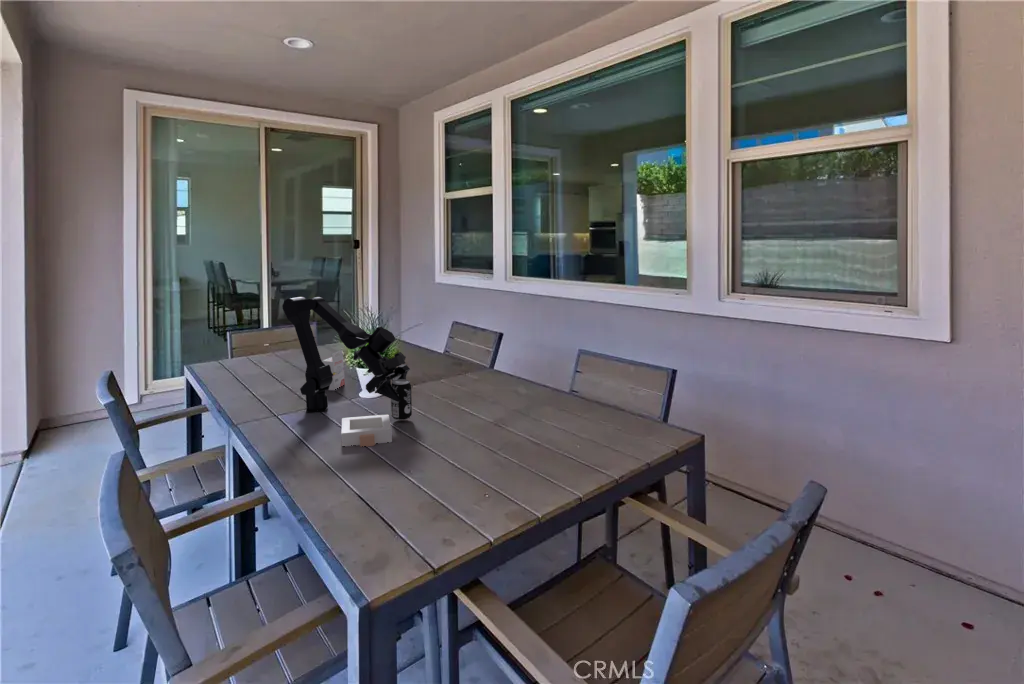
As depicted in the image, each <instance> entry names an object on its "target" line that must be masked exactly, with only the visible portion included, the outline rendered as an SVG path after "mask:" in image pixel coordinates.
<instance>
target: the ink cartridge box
mask: <svg viewBox="0 0 1024 684" xmlns="http://www.w3.org/2000/svg"><path fill="white" fill-rule="evenodd" d="M321 361H322V362H323V363H324V364H325V365H330V368H331V372H332V374H333V376H332V378H333V381H332V383H331V384H330V387H329V390H328V391H336V390H338V389H340V388H341V386H342V387H344V386H345V385H346V384H345V383H346V382H345V365H344V354H343V350H342V349H340V350H338V351H334V352H333V353H331V357H328V358H326V359H322V360H321ZM343 385H344V386H343ZM339 387H340V388H339ZM337 388H338V389H337ZM335 389H336V390H335Z"/></svg>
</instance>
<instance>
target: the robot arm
mask: <svg viewBox="0 0 1024 684" xmlns="http://www.w3.org/2000/svg"><path fill="white" fill-rule="evenodd" d="M281 306H282V310H283V312H284V316H285V317H286V319H287V320H288V321H289V322H290V323H291V324H292V325H293V326H294V329H295V333H296V335H297V339H298V343H299V344H300V348H301V351H302V354H303V358H304V361H305V365H306V367H305V368H306V369H305V381H306V382H304V384H303V385H302V386H301V387H300V389H299V390H300V393H301V395H303V396H305V405H306V409H305V412H306V413H317V412H318V413H319V412H326V411H327V409H328V406H329V401H328V399H329V398H328V394H326V391H330V390H329V387H330V384H331V383H332V381H333V378H332V376H333V374H332V372H331V368H330V365H325V364H324V363H323V362H322V361H323V360H322V358H321V355H320V352H319V348H318V346H317V343H316V339H315V336H314V333H313V330H312V326H311V323H310V318H311V313H312V312H311V311H313V312H314V313H316V314H317V316H318V317H320V318H321V319H322V320H323V321H324V322H325V323H326V324H328V326H330V328H332V329H333V330H334V331H335V332H336V333H337V335H338V337H339V340H340V341H341V343H343V345H344V346H345V347H346V348H347V349H349V350H355V349H358V348H360V349H359V350H356V351H354V352H353V361H356V360H357V361H358V360H359V359H360V360H361V361H362V363H364V364H365V365H366V367H367V368H368V369H367V372H368V374H371V373H372V374H373V377H372V378H371V379H370V380H369V381H368V382H367V383H366V384H365V390H366V391H367V393H368V394H371V393H375V394H378V395H381V396H384V397H386V398H389V399H390V400H391V399H393V400H395V401H397V402H399V401H400V398H399V396H398V395H397V393H396V392H395V391H394V389H393V388H392V386H391V384H392V381H393V380H398V379H406V380H407V375H408V373H409V371H411V369H410V367H409V366H408V364H406V355H404V353H403V352H400V351H399V352H397V353H395V354H394V355H393V356H394V357H391V358H388V357H387V356H384V357H383V356H382V355H381V353H384V352H386V351H387V350H388V348H389V347H390V346H391V345H392V344H393V343H394V342H395V340H396V337H395V335H394V333H393V332H391V331H390V330H388V329H387V328H384V327H383V326H381V325H380V326H378V327H376V328H375V330H374V331H373V332H372V333H368V332H366V331H365V329H363V328H362V327H360V326H358V325H355V324H352V323H351V322H349V321H347V319H346V318H344V317H343V316H342V315H341V314H340V313H338V311H336V310H335V309H334V308H333V307H332V306H331V305H329V303H327V302H326V300H325V298H323V297H320V296H316V297H310V298H306V297H304V296H297V297H292V298H291V297H290V298H286V299H285V300H284V301H283V303H282V305H281Z"/></svg>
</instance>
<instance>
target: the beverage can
mask: <svg viewBox="0 0 1024 684" xmlns="http://www.w3.org/2000/svg"><path fill="white" fill-rule="evenodd" d="M391 386H392V388H393V389H394V391H395V392H396V393H397V395H398V396H399V398H400V401H399V402H397V401H395V400H393V399H390V416H391V417H392V418H393V419H394V420H397V421H401V420H402V421H403V420H409V419H410V417H412V415H413V410H412V409H413V408H412V406H413V405H412V403H413V402H412V384H411V381H410V380H409V379H407V378H406V379H398V380H393V381H392V380H391Z"/></svg>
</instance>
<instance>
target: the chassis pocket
mask: <svg viewBox="0 0 1024 684" xmlns="http://www.w3.org/2000/svg"><path fill="white" fill-rule="evenodd" d="M340 432H341V433H340V435H341V447H342V446H345V447H354V446H353V445H356V446H359V447H360V448H364V446H366V447H375V445H377V444H376V443H378V444H386V443H387V442H389V443H393V435H392V434H393V433H392V432H393V431H392V424H391V419H390V415H389V414H378V415H377V414H376V415H363V416H352V417H342V418H341V431H340ZM351 445H352V446H351ZM362 446H363V447H362Z"/></svg>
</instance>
